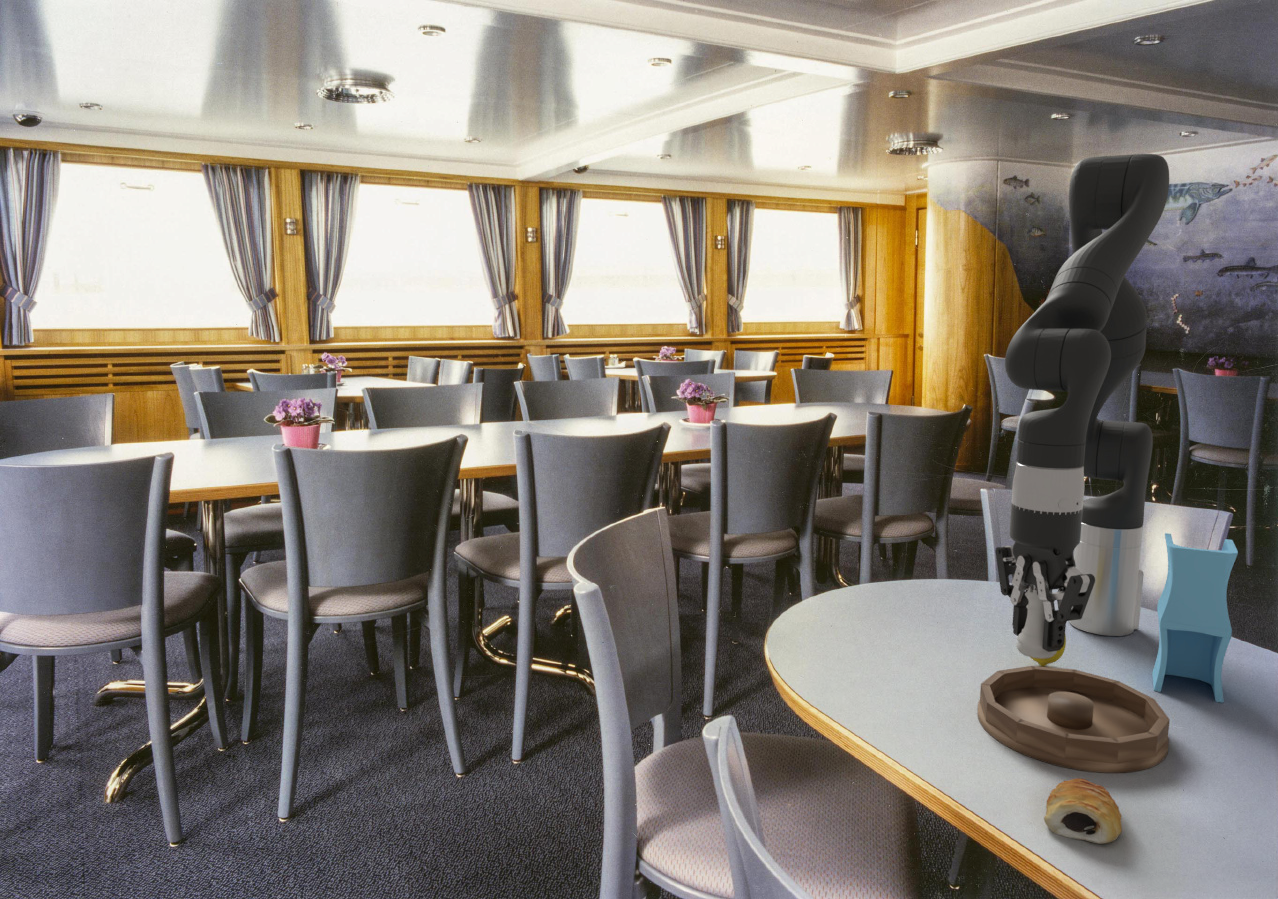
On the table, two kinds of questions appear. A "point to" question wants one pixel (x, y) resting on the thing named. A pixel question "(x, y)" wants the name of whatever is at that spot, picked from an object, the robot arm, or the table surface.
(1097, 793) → the pastry
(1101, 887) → the table surface
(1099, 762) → the ring tray
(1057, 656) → the lemon
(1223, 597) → the blue wavy stand
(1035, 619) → the rook chess piece
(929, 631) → the table surface
